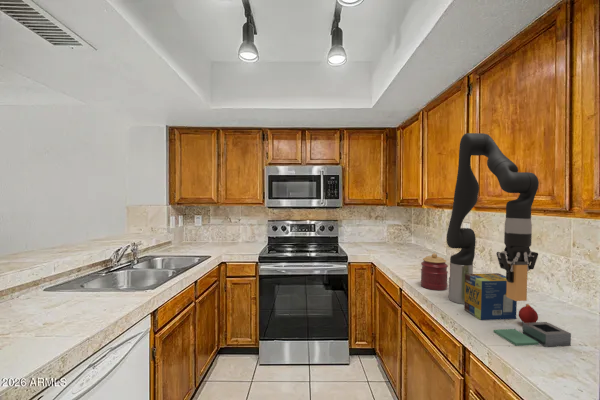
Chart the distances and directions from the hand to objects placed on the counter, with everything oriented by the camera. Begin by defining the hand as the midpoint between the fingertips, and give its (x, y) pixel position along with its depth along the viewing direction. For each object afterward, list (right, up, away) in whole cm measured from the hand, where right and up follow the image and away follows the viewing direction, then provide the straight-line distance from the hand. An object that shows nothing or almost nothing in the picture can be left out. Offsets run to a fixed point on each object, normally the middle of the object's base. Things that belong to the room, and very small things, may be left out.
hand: (516, 281), depth 105 cm
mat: (0, -19, 0) cm, 19 cm away
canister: (-3, -18, +57) cm, 60 cm away
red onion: (+12, -19, +11) cm, 25 cm away
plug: (0, -6, 0) cm, 6 cm away
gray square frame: (+10, -19, 0) cm, 22 cm away
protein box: (+4, -19, +21) cm, 29 cm away
